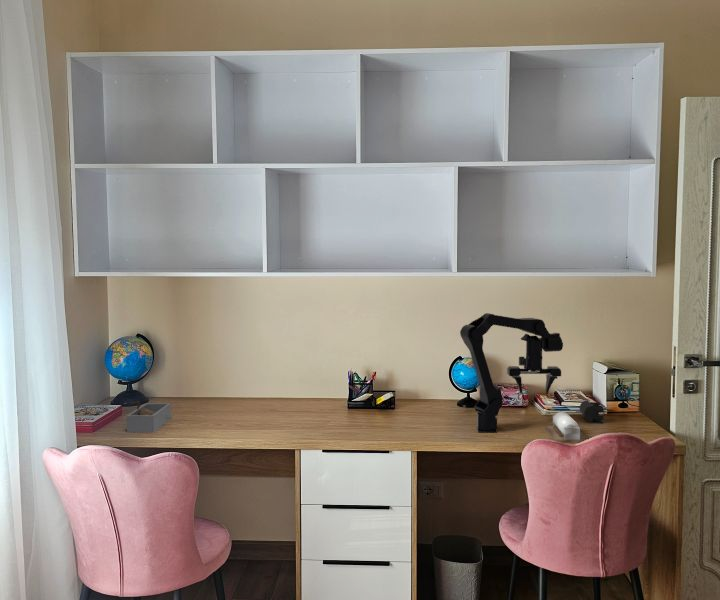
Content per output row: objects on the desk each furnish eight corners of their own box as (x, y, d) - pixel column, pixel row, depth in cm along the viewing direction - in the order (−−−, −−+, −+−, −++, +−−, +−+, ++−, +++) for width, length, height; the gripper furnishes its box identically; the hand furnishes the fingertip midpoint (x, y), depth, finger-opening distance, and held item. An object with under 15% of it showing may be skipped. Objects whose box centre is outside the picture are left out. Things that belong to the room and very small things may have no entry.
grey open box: (125, 424, 264) (125, 401, 264) (131, 421, 269) (131, 399, 268) (158, 427, 261) (158, 404, 260) (164, 424, 265) (164, 401, 264)
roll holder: (555, 442, 239) (556, 428, 238) (544, 428, 257) (544, 415, 256) (588, 442, 238) (588, 428, 238) (574, 428, 256) (575, 415, 256)
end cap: (579, 417, 274) (579, 400, 274) (598, 417, 273) (598, 400, 273) (584, 423, 264) (584, 405, 264) (603, 424, 263) (604, 406, 263)
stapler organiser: (126, 432, 255) (126, 415, 254) (146, 418, 275) (145, 403, 274) (154, 432, 254) (153, 415, 254) (171, 418, 274) (170, 403, 274)
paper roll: (559, 435, 241) (563, 418, 241) (551, 426, 254) (555, 410, 253) (577, 438, 241) (580, 421, 241) (568, 429, 254) (571, 413, 253)
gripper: (554, 349, 265) (554, 390, 267) (504, 349, 266) (504, 389, 267) (562, 353, 254) (561, 396, 255) (509, 353, 255) (509, 396, 256)
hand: (533, 394), depth 259 cm, fingers open, 9 cm apart
